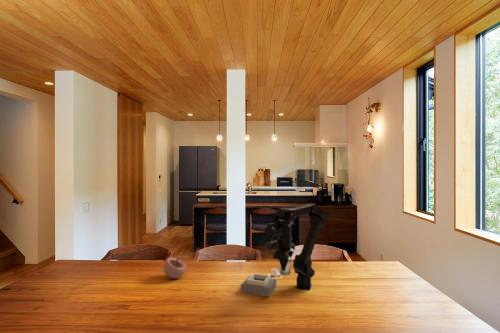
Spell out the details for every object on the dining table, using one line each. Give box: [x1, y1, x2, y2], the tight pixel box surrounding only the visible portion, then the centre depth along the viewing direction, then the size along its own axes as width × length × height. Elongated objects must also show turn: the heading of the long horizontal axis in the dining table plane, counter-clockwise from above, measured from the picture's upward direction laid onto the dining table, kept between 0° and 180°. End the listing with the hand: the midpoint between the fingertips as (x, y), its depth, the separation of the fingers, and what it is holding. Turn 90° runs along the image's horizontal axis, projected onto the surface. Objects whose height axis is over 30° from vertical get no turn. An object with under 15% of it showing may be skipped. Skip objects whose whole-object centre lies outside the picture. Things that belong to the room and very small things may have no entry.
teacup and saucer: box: [267, 267, 283, 280], centre depth 167 cm, size 9×8×4 cm
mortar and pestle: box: [163, 256, 187, 279], centre depth 165 cm, size 12×12×12 cm
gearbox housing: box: [240, 272, 277, 298], centre depth 149 cm, size 14×12×6 cm
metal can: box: [278, 256, 291, 276], centre depth 144 cm, size 5×5×8 cm
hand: (284, 268), depth 144 cm, fingers closed on metal can, 5 cm apart
